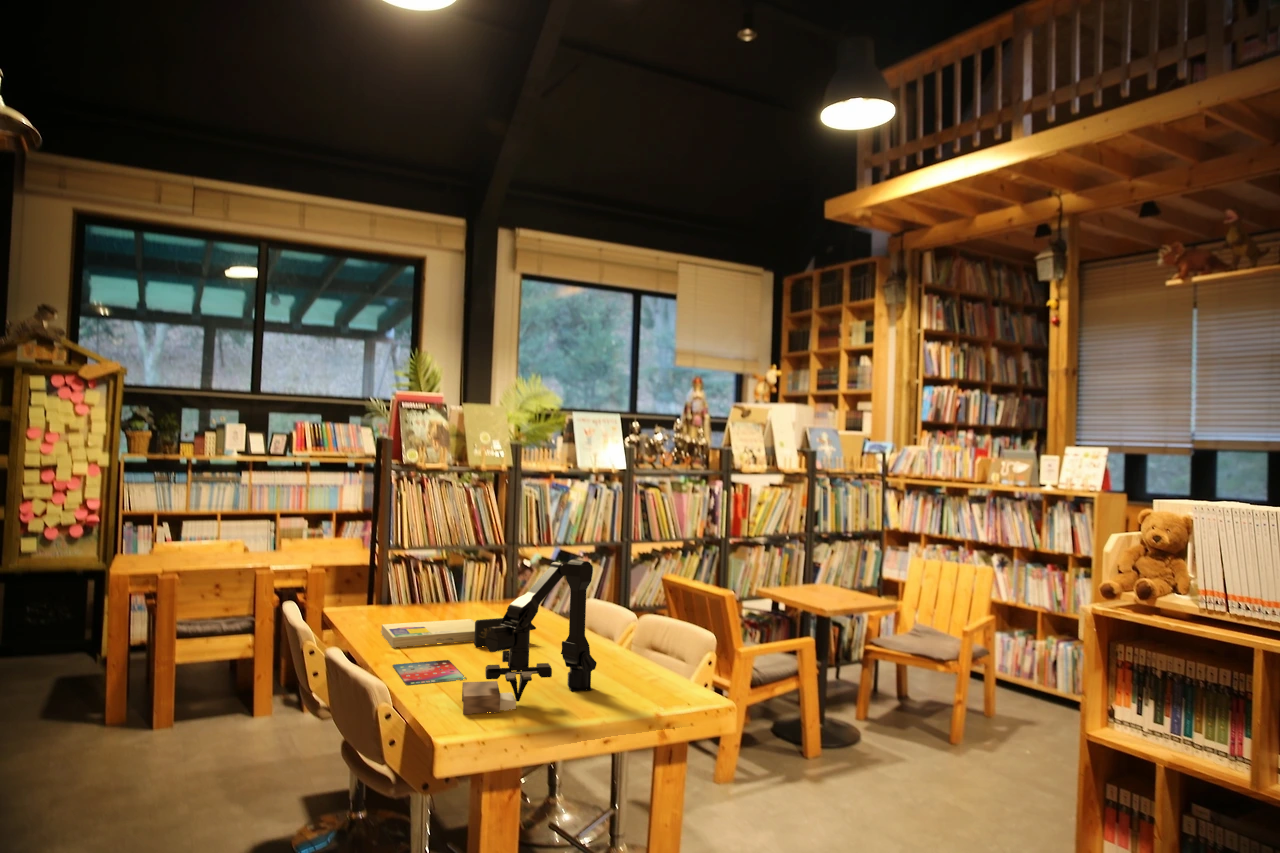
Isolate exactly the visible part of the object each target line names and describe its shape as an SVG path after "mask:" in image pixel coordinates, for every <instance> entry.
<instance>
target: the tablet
mask: <svg viewBox="0 0 1280 853" xmlns="http://www.w3.org/2000/svg"><path fill="white" fill-rule="evenodd" d="M392 668H393V669H394V671H395V672H396V674H397V675H398V676H399V678H400V679H401V680H402V682H403V683H404V684H405V685H406V686H417V685H427V684H436V683H439V684H440V683H447V682H457V681H456V680H460V681H464V680H463V679H465V678H466V680H467V677H466V676H465V675H464V674H463V673H462V671H460V670H459V669H458V668H457V667H456V665H454V663H453V662H452V661H451V660H449V659H442V660H429V661H428V660H427V661H418V662H407V663H398V664H397V663H396V664H395V663H394V664H392ZM464 676H465V677H464ZM463 677H464V678H463Z"/></svg>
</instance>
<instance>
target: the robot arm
mask: <svg viewBox="0 0 1280 853" xmlns="http://www.w3.org/2000/svg"><path fill="white" fill-rule="evenodd" d="M593 568H594V567H593V565H592V563H591V562H590V561H587V560H580V559H574V558H573V559H570V560H568V562H567V561H554V562H553V561H552V562H551V563H550V564H549V567H548V568H547V569H546V571H545V572H544V573H543V574H542V575H541V577H539V579H538V580H537V581H536V582H535V583H534V584H533V585H532V587H531V588H530V589H529V590H528V591H527V592H526V593H525V594H523V595H521V596H519V597H517V598H516V599H514V600H513V601H512V602H511V603H510V604H509V605H508V606H507V610H506V612H505V613H504V616H503V617H502V618H503V619H502V621H501V622H500V624H499V627H491V631H490V632H489V633H488V634H487V636H486V638H485V643H486V647H485V648H486V649H487V650H488V651H489V652H490V653H495V652H496V653H497V652H501V651H502V657H501V660H502V663H507V667H501V666H500V664H487V665H486V666H485V668H484V669H485V670H484V671H485V672H484V675H485V679H486V680H498V679H499V678H500V677H501V676H503V675H504V678H505V681H506V682H507V683H508V682H509V683H510V686H511V688H512V690H513V693H514V694H513V695H514V698H515V699H516V703H517V702H520V700H521V698H522V695H523V693H524V690H525V688H526V686H527V685H528V682H531V681H533V678H532V675H533V674H538V676H539V677H540V678H542V679H543V678H544V679H545V678H552V677H553V669H552V666H551V664H550V663H549V662H542V663H541V662H539V663H536V666H530V665H529V664H530V637H531V636H530V635H531V631H534V630H537V627H536V626H535V625H534V624H533V623H532V621H533V620H534V618H535V617H536V615H537V614H538V612H539V607H540V604H541V603H542V602H543V600H544V599H545V598H546V597H547V596H548V595H549V593H550V592H552V590H553V589H554V588H555V586H556V585H557V584H559V582H560V581H561V579H563V577H565V580H566V582H567V584H568V587H569V590H570V592H569V594H570V595H569V596H570V598H569V599H570V600H569V624H568V625H569V626H568V627H569V628H568V629H569V630H568V636H567V638H566V640H563V641H561V652H560V654H561V655H562V656H561V657H562V659H563V661H564V663H565V666H566V668H569V671H568V672H567V687H568V688H569V690H570V691H571V692H577V691H578V692H579V691H582V692H583V691H592V689H593V688H592V687H591V685H592V684H591V683H592V682H591V681H592V671H595V670H596V668H597V664H598V663H597V661H596V660H595V659H594V658H593V656H592V655H591V648H590V644H589V642H588V639H587V637H586V614H587V589H588V587H589V586H590V585H591V582H592V578H593V572H594V569H593ZM510 621H512V622H516V623H518V624H516V623H512V622H510ZM517 675H519V683H518V682H517Z"/></svg>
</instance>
